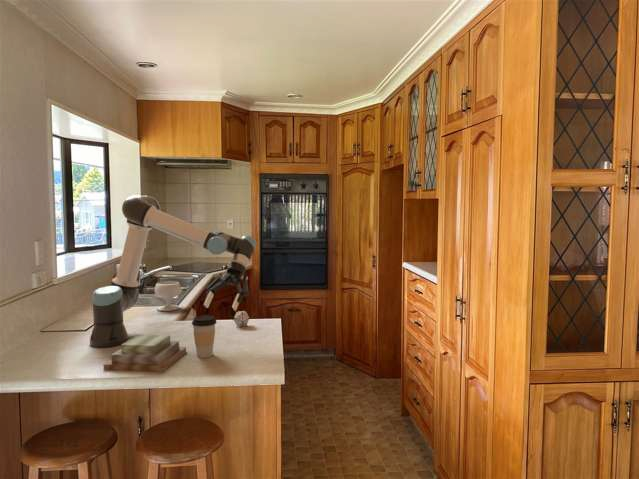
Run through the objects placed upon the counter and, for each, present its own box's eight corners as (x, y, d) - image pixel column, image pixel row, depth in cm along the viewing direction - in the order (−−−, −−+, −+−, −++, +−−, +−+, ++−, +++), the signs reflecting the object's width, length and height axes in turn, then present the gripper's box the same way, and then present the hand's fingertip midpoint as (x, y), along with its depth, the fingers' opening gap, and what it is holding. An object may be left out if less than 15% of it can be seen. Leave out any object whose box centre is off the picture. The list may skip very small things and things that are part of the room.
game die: (244, 335, 224) (245, 322, 217) (228, 328, 225) (229, 314, 218) (252, 322, 230) (254, 309, 224) (237, 315, 232) (238, 302, 225)
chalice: (150, 309, 260) (149, 282, 259) (172, 305, 271) (171, 279, 270) (164, 313, 251) (163, 285, 250) (186, 308, 262) (185, 282, 261)
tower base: (103, 369, 168) (102, 348, 167) (134, 350, 190) (133, 331, 189) (161, 372, 166) (161, 350, 165) (186, 352, 187) (185, 332, 187)
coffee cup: (195, 351, 188) (194, 315, 186) (218, 351, 189) (218, 314, 187) (190, 359, 178) (189, 321, 177) (215, 359, 179) (214, 320, 178)
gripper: (266, 273, 203) (249, 314, 190) (217, 270, 212) (198, 309, 199) (260, 262, 197) (242, 304, 185) (210, 260, 206) (190, 300, 194)
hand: (219, 307), depth 192 cm, fingers open, 13 cm apart
